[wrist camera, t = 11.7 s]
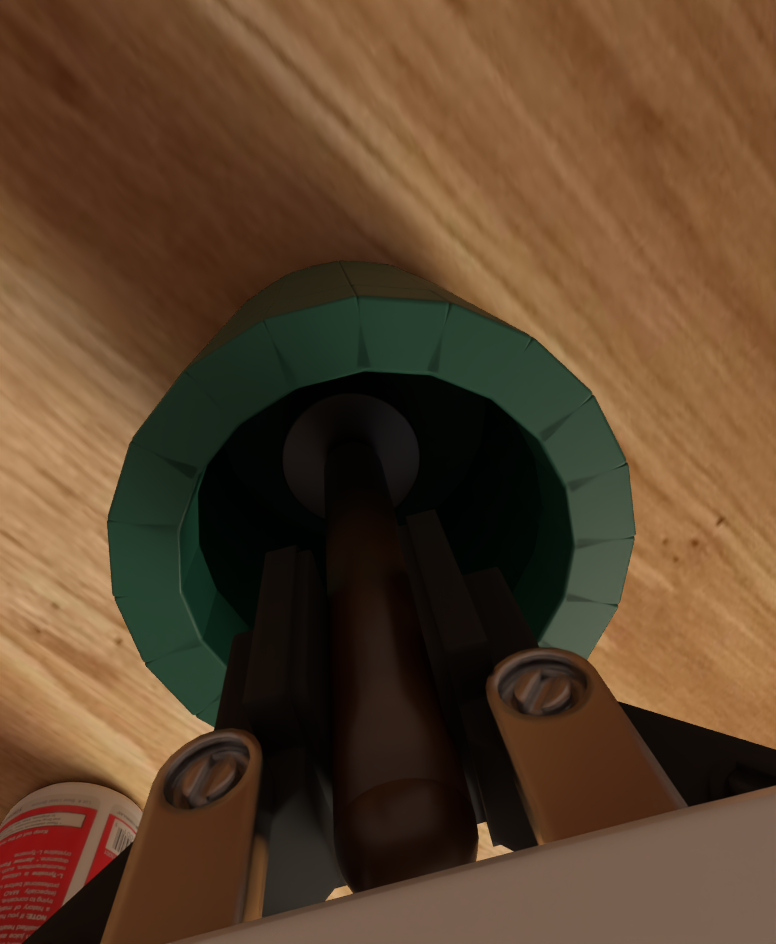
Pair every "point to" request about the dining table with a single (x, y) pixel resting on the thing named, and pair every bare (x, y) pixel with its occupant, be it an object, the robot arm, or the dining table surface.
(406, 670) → the brown pestle
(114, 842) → the pill bottle
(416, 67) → the dining table surface
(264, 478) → the jar
